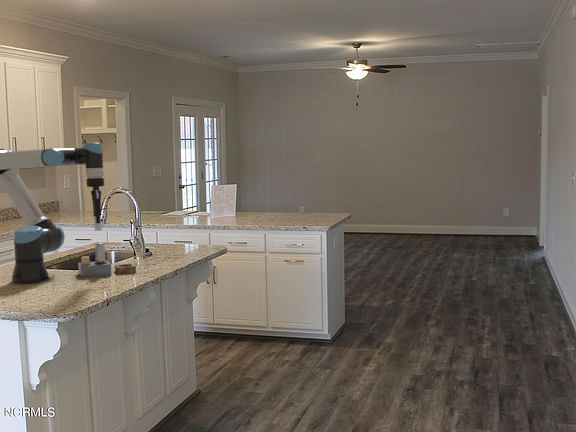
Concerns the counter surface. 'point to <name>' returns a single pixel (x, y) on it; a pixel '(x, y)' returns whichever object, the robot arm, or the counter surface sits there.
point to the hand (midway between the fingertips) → (98, 230)
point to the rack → (125, 269)
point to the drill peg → (100, 253)
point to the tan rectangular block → (85, 260)
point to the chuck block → (94, 269)
